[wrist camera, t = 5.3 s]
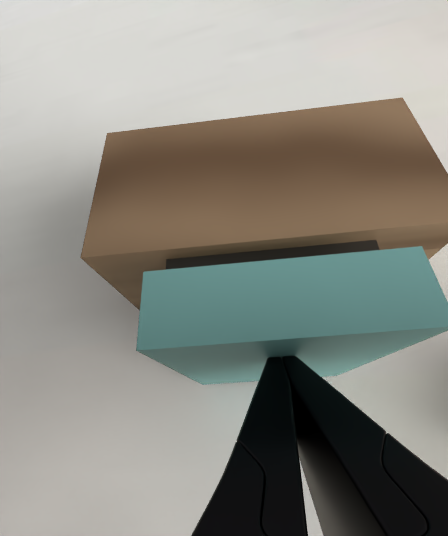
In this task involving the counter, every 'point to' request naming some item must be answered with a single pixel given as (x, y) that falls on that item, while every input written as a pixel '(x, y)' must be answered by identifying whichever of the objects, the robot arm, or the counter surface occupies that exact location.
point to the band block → (265, 191)
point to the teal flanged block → (289, 313)
